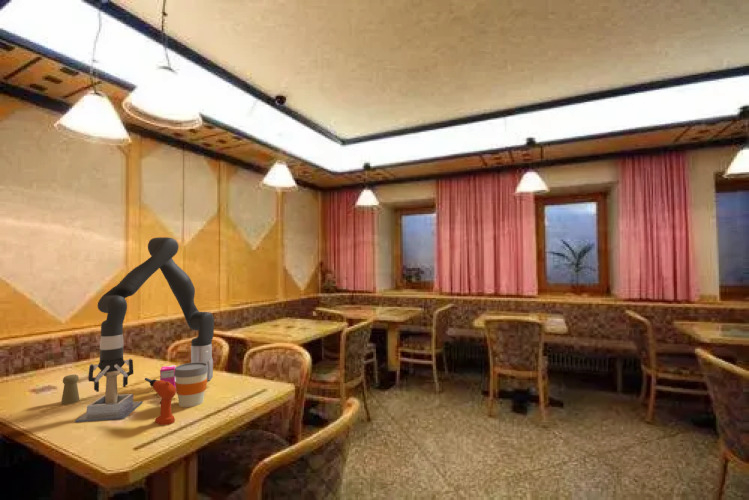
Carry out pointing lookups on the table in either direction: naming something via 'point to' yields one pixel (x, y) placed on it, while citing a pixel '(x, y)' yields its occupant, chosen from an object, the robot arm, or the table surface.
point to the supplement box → (168, 374)
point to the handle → (111, 387)
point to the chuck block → (110, 409)
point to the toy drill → (164, 400)
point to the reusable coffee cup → (191, 383)
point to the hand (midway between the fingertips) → (111, 388)
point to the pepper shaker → (70, 390)
